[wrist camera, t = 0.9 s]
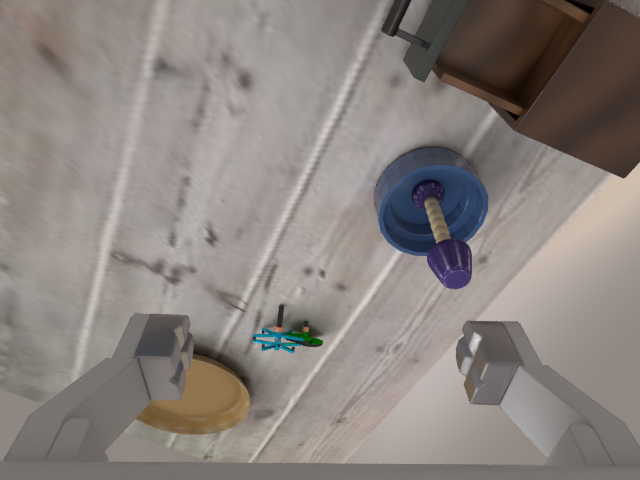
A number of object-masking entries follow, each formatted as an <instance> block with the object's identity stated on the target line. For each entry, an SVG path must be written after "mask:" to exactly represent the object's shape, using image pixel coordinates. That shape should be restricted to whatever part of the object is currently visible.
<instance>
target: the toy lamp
mask: <svg viewBox="0 0 640 480" xmlns="http://www.w3.org/2000/svg"><path fill="white" fill-rule="evenodd" d="M444 195H445V192H444V188H443V186H442V185H441V184H440V183H439V182H437V181H434V180H426V181H423V182H421V183H419V184H418V185H417V186H415V188H414V189H413V191H412V201H413V203H414V204H415V205H416V206H417V207H419V208H420V209H423V210H426V211H427V215H428V216H429V222H430V223H431V229H432V230H433V234H434V237H435V239H436V244H434V246H432V247H431V248H430V250H429V252H428V255H427V262H428V265H429V267H430V268H431V270H432V271H433V272H434V274H435V275H436V276H437V278H438V279H439V280H440V282H441V283H442V284H443V285H444V286H445V287H447V288H449V289H460V288H462V287H464V286H466V285H467V284H468V283H469V282H470V280H471V275H472V254H471V250H470V247H469V246H468V245H467V244H466V243H465V242H464V241H462V240H459V239H452V238H451V237H450V234H449V230H448V229H447V225H446V222H445V221H444V216H443V214H442V213H441V208H440V206H439V205H440V204H441V203H442V201H443V199H444Z"/></svg>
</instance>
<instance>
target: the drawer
mask: <svg viewBox="0 0 640 480" xmlns="http://www.w3.org/2000/svg"><path fill="white" fill-rule="evenodd" d="M410 2H411V0H394V2H393V5H392V7H391V9H390V11H389V13H388V16H387V18H386V20H385V22H384V24H383V27H382V29H381V31H382V32H383V33H385V34H387V35H389V36H392V37H394V36H395V35H396V36H398V37H400V38H403V39H405V40H407V41H409V42H411V45H410V47H409V49H408V51H407V53H406V55H405V57H404V59H403V61H404V62H405V64H406V66H407V67H408V69H409V70H410V72H411V74H412V75H413V77H414V78H416V79H418V80H420V81H423V82H425V80H426V78H427V77H428V75H429V73H430V71H431V69H432V70H433V72H434V73H435V74H436V75H437V77H438V78H439V79H440V80H441V81H443V82H445V83H447V84H450V85H452V86H454V87H456V88H459V89H461V90H463V91H465V92H467V93H470V94H472V95H474V96H476V97H479V98H481V99H483V100H485V101H488V102H490V103H492V104H494V105H497V106H499V107H501V108H503V109H505V110H508V111H510V112H512V113H514V114H517V115H519V116H520V115H521V114H522V112H523V111H524V109H525V108H526V106H527V105H528V104H529V102H530V101H531V99H532V98H533V96H534V95H535V94H536V92H537V91H538V89H539V88H540V86H541V85H542V84H543V82H544V81H545V79H546V78H547V76H548V75H549V74H550V72H551V71H552V69H553V68H554V66H555V65H556V64H557V62H558V61H559V59H560V58H561V56H562V55H563V54H564V52H565V51H566V49H567V48H568V46H569V45H570V44H571V42H572V41H573V39H574V38H575V36H576V35H577V34H578V32H579V31H580V29H581V28H582V26H583V25H584V24H585V22H586V21H587V19H588V18H589V16H590V15H591V14H589V13H587V12H585V11H583V10H582V9H580V8H578V7H576V6H574V5H572V4H570V3H569V2H567V1H565V0H433V1H432V3H431V5H430V7H429V9H428V11H427V13H426V15H425V17H424V19H423V21H422V23H421V25H420V27H419V29H418V31H417V33H416V35H415V36H414V35H412V34H410V33H408V32H406V31H404V30H401V29H399V25H400V23H401V21H402V19H403V17H404V15H405V13H406V11H407V8H408V6H409V4H410Z"/></svg>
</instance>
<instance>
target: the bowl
mask: <svg viewBox="0 0 640 480" xmlns="http://www.w3.org/2000/svg"><path fill="white" fill-rule="evenodd" d="M426 180H434V181H437V182H439V183H440V184H441V185H442V186H443V188H444V192H445V195H444V199H443V201H442V203H441V204H440V205H439V206H440V208H441V213H442V214H443V216H444V221H445V222H446V225H447V229H448V230H449V234H450V237H451V238H452V239H459V240H462V241H464V242H467V241H468V240H469V239H470V238H472V237H473V236H474V235H475V233H476V232H477V231H478V230H479V228H480V227H481V226H482V224H483V222H484V219H485V216H486V213H487V211H488V195H487V193H486V190H485V188H484V186H483V184H482V182H481V180H480V179H479V177H478V175H477V174H476V172H475V171H474V169H473V168H472V166H471V165H470V163H469V162H468V161H466V160H465V159H464V158H463V157H462V156H461V155H460V154H458V153H455V152H453V151H450V150H448V149H445V148H430V147H429V148H423V149H419V150H414V151H412V152H409V153H407V154H405V155H403V156H401V157H399V158H398V159H396V160H395V161H394V162H393V163H392V164H391V165H390V166H389V167H388V168H387V169H386V170H385V171H384V172H383V174H382V175H381V177H380V179H379V181H378V183H377V185H376V190H375V196H374V201H375V206H376V211H377V216H378V221H379V225H380V230H381V232H382V234H383V235H384V237H385V238H386V240H387V241H388V243H390V244H391V245H392V246H394V247H395V248H397V249H398V250H400V251H402V252H405V253H408V254H411V255H417V256H427V255H428V252H429V250H430V248H431V247H432V246H434V244H436V239H435V237H434V234H433V230H432V229H431V223H430V222H429V216H428V215H427V211H426V210H423V209H420V208H419V207H417V206H416V205H415V204H414V203H413V201H412V191H413V189H414V188H415V186H417V185H418V184H419V183H421V182H423V181H426Z"/></svg>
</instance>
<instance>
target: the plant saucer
mask: <svg viewBox="0 0 640 480" xmlns="http://www.w3.org/2000/svg"><path fill="white" fill-rule="evenodd" d="M185 374H186V379H187V381H186V384H185V388H184V391H183V395H182V398H181V400H158V401H150V404H149V405H148V406H147V407H146V408H145V409H144V410H143V411H142V412H141V413H140V414H139V415H138V416H137V417H136V418H135V419H137V420H138V421H140V422H142V423H144V424H146V425H148V426H151V427H153V428H156V429H160V430H163V431H167V432H172V433H178V434H186V435H203V434H211V433H217V432H221V431H224V430H227V429H229V428H232V427H234V426H235V425H237V424H238V423H240V422H241V421H242V420H243V419H244V418H245V417H246V416H247V414H248V412H249V410H250V405H251V400H250V396H249V393H248V390H247V388H246V386H245V384H244V383H243V381H242V380H241V379H240V378H239V377H238V376H237V375H236V374H235V373H234V372H233V371H232V370H231V369H229V368H228V367H226V366H225V365H223V364H221V363H220V362H217V361H215V360H213V359H210V358H208V357H205V356H201V355H197V354H193V358H192V362H191V366H190V368H189V369H187V370H186V371H185Z"/></svg>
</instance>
